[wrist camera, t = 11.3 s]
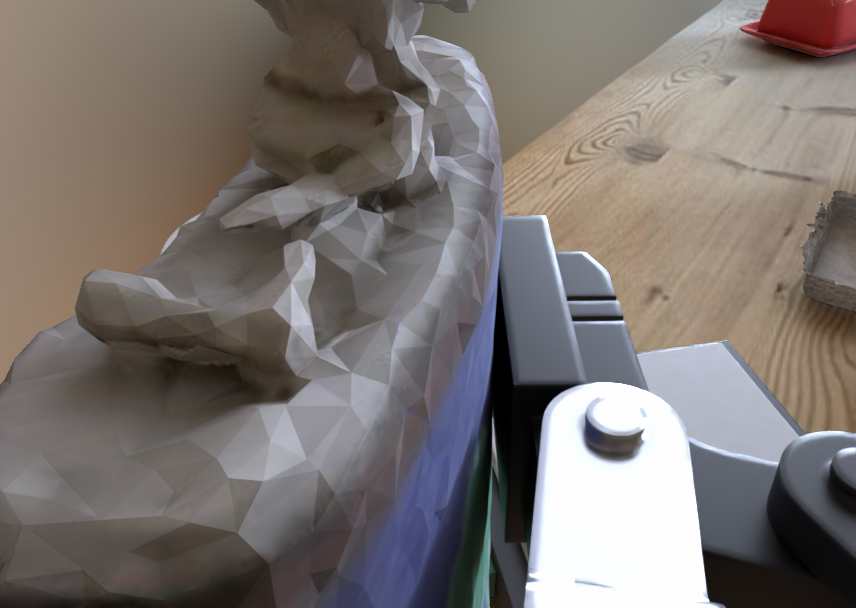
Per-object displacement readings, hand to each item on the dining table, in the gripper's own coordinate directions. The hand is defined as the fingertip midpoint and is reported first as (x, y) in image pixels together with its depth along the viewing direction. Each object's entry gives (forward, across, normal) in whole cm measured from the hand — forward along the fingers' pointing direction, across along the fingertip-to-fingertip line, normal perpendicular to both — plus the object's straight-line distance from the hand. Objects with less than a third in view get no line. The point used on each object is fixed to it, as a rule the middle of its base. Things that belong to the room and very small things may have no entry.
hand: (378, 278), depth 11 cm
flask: (-3, 0, +6) cm, 7 cm away
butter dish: (+75, -40, +19) cm, 88 cm away
